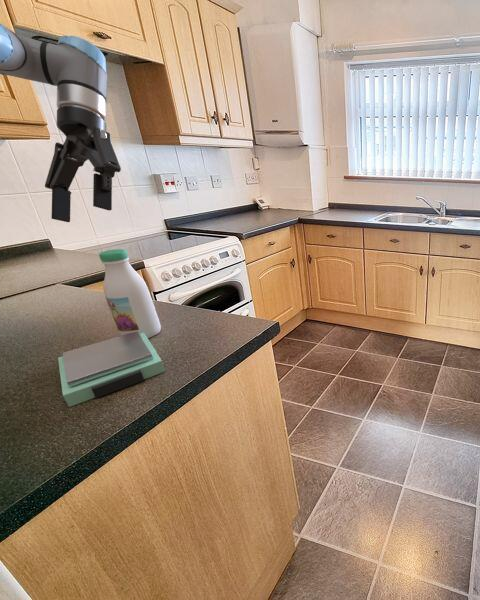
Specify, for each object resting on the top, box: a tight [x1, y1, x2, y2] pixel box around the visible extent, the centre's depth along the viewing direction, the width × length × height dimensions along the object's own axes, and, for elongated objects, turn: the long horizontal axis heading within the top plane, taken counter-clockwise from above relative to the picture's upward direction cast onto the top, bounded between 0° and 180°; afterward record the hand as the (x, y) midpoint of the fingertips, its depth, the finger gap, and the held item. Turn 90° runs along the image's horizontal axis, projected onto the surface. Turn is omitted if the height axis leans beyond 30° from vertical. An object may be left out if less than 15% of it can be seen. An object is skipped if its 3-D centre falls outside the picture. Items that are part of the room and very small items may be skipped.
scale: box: [57, 332, 166, 408], centre depth 65 cm, size 17×14×2 cm
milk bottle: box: [98, 248, 162, 339], centre depth 75 cm, size 8×8×20 cm
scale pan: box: [62, 331, 153, 387], centre depth 65 cm, size 13×12×1 cm
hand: (81, 214), depth 68 cm, fingers open, 13 cm apart
